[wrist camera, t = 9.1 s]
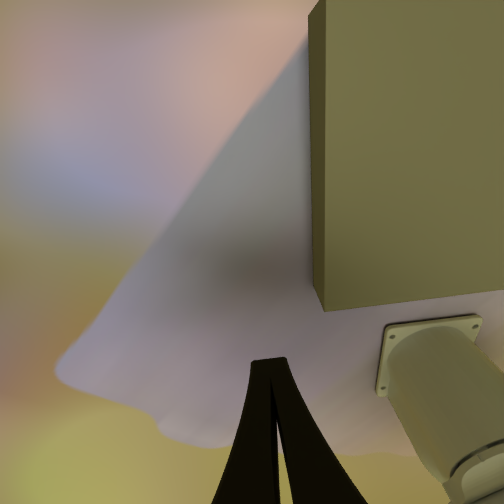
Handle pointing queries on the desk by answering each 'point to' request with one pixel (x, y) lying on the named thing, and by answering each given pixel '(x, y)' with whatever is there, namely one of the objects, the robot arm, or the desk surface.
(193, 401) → the desk surface
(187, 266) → the desk surface
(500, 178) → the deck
